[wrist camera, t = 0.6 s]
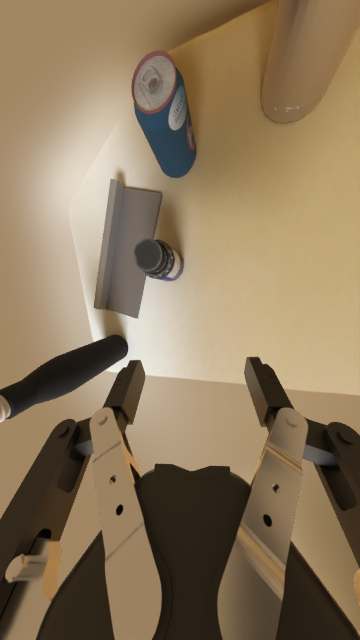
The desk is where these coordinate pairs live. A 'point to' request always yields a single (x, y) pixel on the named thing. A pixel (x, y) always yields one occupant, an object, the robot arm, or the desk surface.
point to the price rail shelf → (124, 247)
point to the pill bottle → (158, 260)
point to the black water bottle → (61, 375)
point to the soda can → (164, 113)
